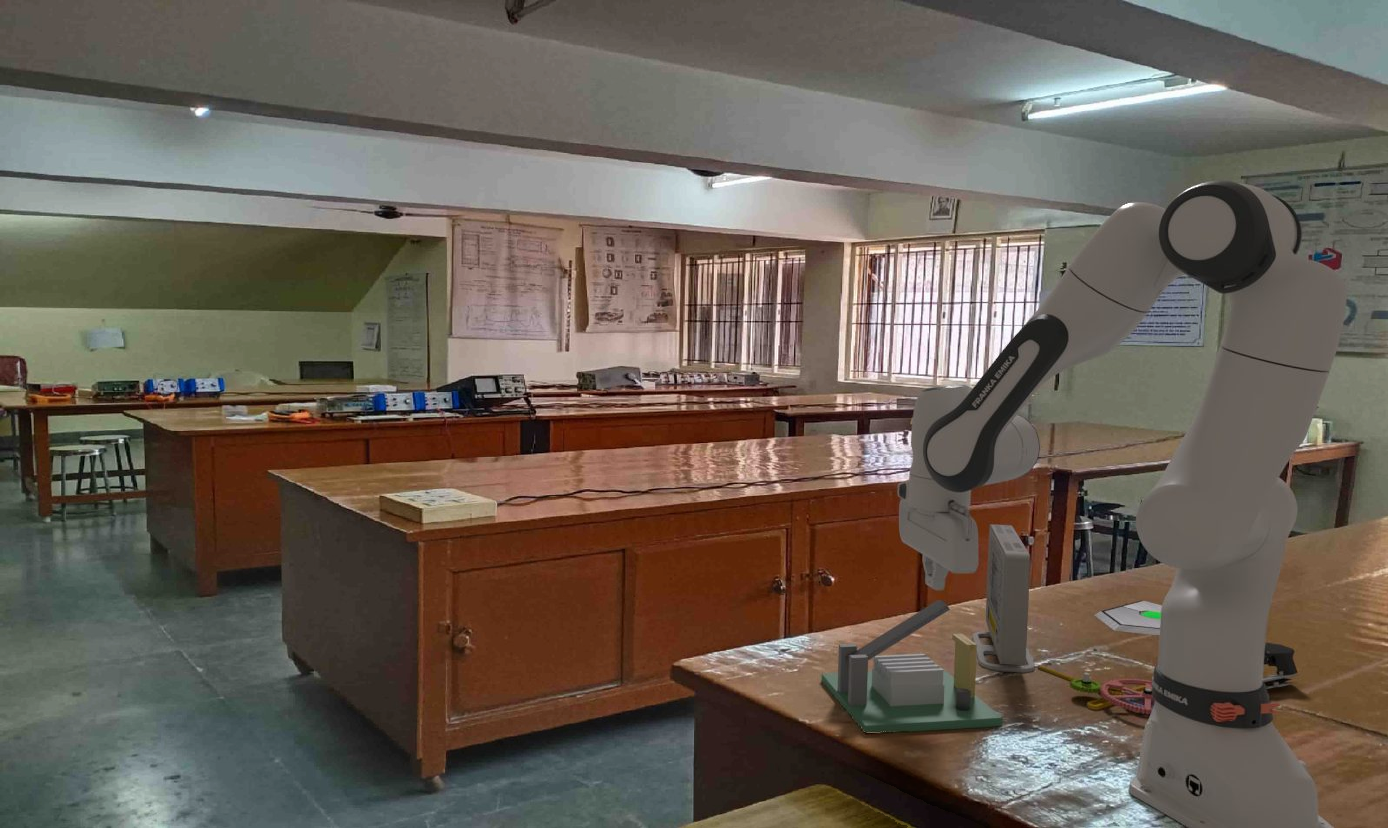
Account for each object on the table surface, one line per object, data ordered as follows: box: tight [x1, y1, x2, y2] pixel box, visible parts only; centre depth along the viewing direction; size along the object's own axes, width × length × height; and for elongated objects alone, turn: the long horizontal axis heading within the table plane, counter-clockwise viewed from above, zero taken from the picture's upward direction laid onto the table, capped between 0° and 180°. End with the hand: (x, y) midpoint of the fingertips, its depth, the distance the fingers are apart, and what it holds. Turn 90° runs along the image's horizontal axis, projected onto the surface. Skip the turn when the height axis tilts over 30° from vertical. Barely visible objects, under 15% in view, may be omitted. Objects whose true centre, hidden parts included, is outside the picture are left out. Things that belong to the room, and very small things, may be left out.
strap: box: [846, 599, 951, 662], centre depth 141 cm, size 3×16×1 cm
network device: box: [972, 524, 1036, 673], centre depth 164 cm, size 26×9×20 cm, turn 168°
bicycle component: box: [1262, 641, 1299, 690], centre depth 152 cm, size 12×7×15 cm
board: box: [821, 633, 1003, 733], centre depth 142 cm, size 20×20×9 cm
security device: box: [1094, 599, 1162, 636], centre depth 184 cm, size 17×22×2 cm
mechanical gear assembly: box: [1037, 665, 1155, 715], centre depth 145 cm, size 30×4×15 cm
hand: (934, 587), depth 142 cm, fingers closed
